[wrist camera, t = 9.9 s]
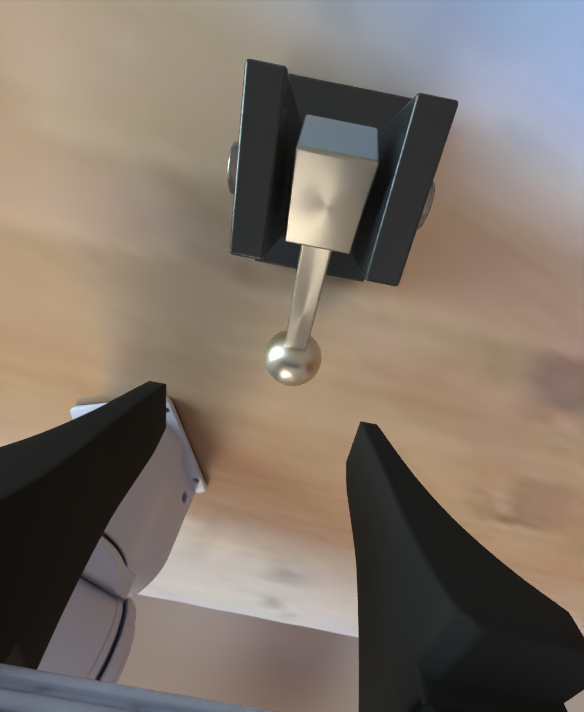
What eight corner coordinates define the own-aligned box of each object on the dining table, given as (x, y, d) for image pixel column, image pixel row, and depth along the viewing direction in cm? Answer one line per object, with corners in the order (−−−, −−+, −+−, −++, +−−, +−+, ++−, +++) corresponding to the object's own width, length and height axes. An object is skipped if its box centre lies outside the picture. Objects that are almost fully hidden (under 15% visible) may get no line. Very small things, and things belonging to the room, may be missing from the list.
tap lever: (318, 357, 19) (312, 400, 17) (268, 347, 19) (258, 390, 17) (391, 126, 10) (396, 170, 8) (293, 106, 10) (276, 146, 8)
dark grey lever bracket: (361, 277, 18) (395, 345, 10) (257, 256, 18) (207, 309, 10) (408, 105, 15) (522, -6, 7) (279, 79, 15) (229, -66, 6)
